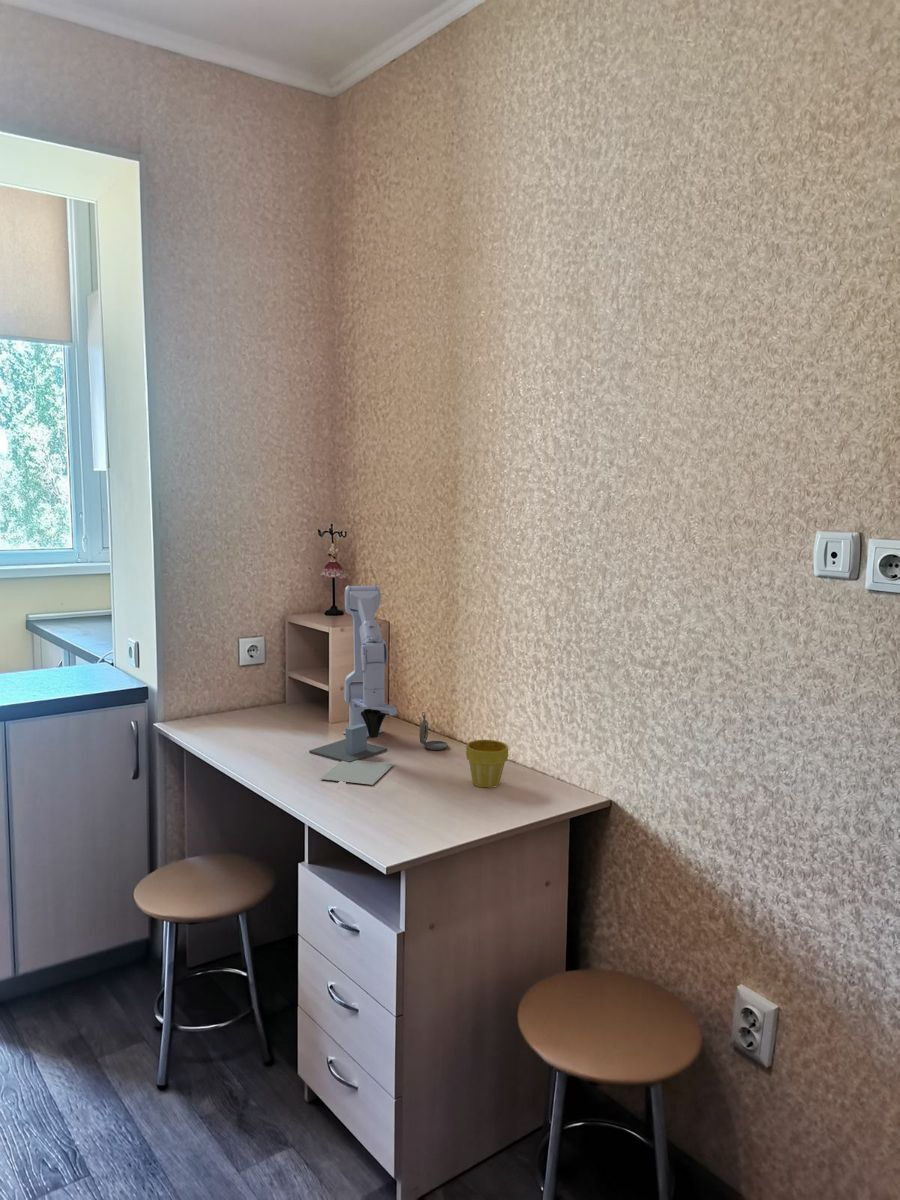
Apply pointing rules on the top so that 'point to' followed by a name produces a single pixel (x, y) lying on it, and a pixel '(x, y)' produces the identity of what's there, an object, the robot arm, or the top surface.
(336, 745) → the mat
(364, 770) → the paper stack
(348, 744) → the blue-grey rectangular block
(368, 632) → the robot arm
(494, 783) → the plant pot
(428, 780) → the top surface
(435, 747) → the pocket watch
